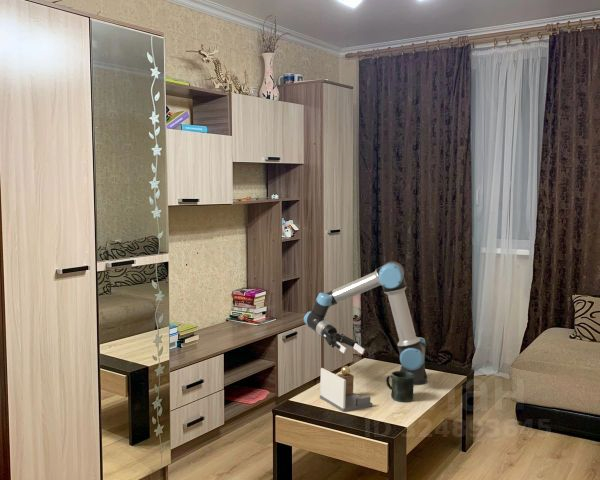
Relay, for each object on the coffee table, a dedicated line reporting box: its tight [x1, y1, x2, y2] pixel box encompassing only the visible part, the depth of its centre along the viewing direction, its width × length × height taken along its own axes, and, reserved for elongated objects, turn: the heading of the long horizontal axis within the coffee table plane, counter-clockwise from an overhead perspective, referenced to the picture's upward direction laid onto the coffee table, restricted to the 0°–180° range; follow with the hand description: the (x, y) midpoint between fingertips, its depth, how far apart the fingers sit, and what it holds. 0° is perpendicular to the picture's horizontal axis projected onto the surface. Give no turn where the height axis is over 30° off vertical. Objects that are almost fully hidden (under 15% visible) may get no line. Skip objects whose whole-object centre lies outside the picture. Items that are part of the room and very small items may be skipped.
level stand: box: [319, 367, 373, 413], centre depth 287 cm, size 20×16×14 cm
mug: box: [385, 370, 415, 403], centre depth 294 cm, size 11×15×12 cm
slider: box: [336, 365, 355, 395], centre depth 293 cm, size 5×6×13 cm
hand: (354, 351), depth 296 cm, fingers open, 13 cm apart
